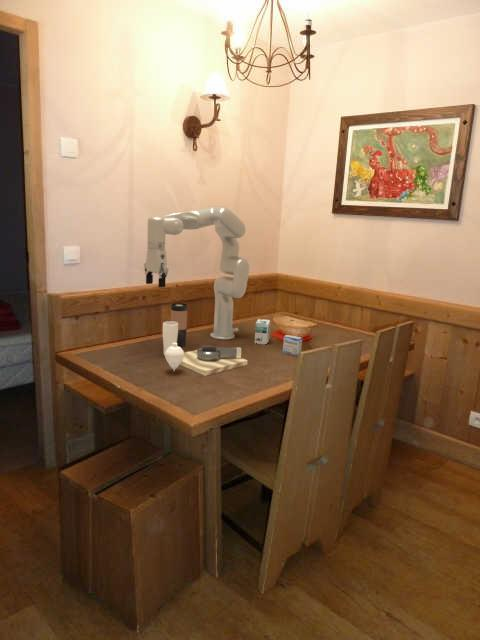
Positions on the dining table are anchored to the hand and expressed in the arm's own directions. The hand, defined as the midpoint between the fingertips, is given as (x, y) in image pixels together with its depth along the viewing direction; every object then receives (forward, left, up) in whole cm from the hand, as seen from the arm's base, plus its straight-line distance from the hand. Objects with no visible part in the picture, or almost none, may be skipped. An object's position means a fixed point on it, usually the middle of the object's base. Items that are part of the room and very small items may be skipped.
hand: (155, 285), depth 205 cm
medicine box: (-51, +39, -31) cm, 71 cm away
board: (-10, +26, -30) cm, 41 cm away
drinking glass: (-2, +9, -31) cm, 32 cm away
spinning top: (+9, +27, -31) cm, 42 cm away
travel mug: (-15, -2, -31) cm, 34 cm away
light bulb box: (-55, +16, -31) cm, 65 cm away
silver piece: (-14, +29, -28) cm, 42 cm away
